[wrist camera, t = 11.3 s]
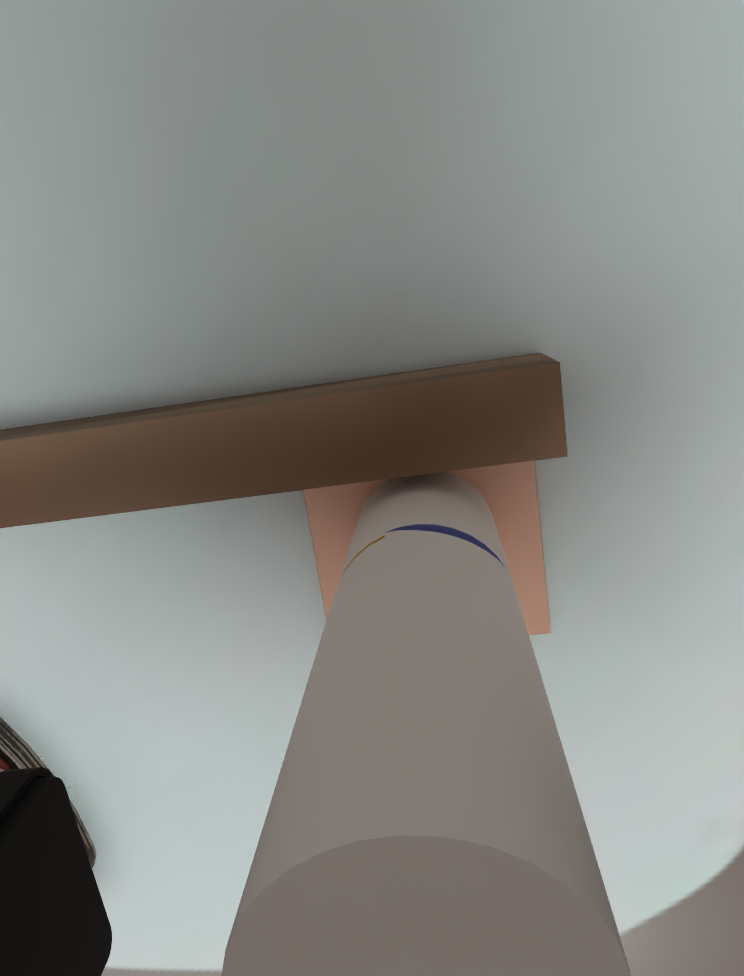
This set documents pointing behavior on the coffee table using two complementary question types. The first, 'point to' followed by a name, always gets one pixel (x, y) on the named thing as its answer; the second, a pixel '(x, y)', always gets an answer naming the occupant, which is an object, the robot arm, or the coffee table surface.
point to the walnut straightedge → (285, 440)
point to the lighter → (12, 752)
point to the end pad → (509, 504)
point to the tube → (425, 775)
